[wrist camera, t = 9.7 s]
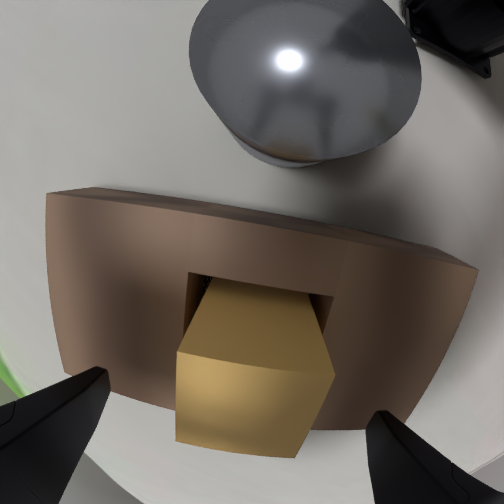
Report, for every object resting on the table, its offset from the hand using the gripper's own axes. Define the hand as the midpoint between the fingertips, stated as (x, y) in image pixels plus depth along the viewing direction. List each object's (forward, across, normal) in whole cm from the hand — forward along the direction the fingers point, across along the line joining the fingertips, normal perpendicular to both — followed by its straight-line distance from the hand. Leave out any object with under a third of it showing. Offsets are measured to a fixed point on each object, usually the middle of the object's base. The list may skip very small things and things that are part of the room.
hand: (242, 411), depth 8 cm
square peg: (+8, 0, 0) cm, 8 cm away
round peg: (+8, 0, -11) cm, 13 cm away
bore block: (+8, 0, 0) cm, 8 cm away
